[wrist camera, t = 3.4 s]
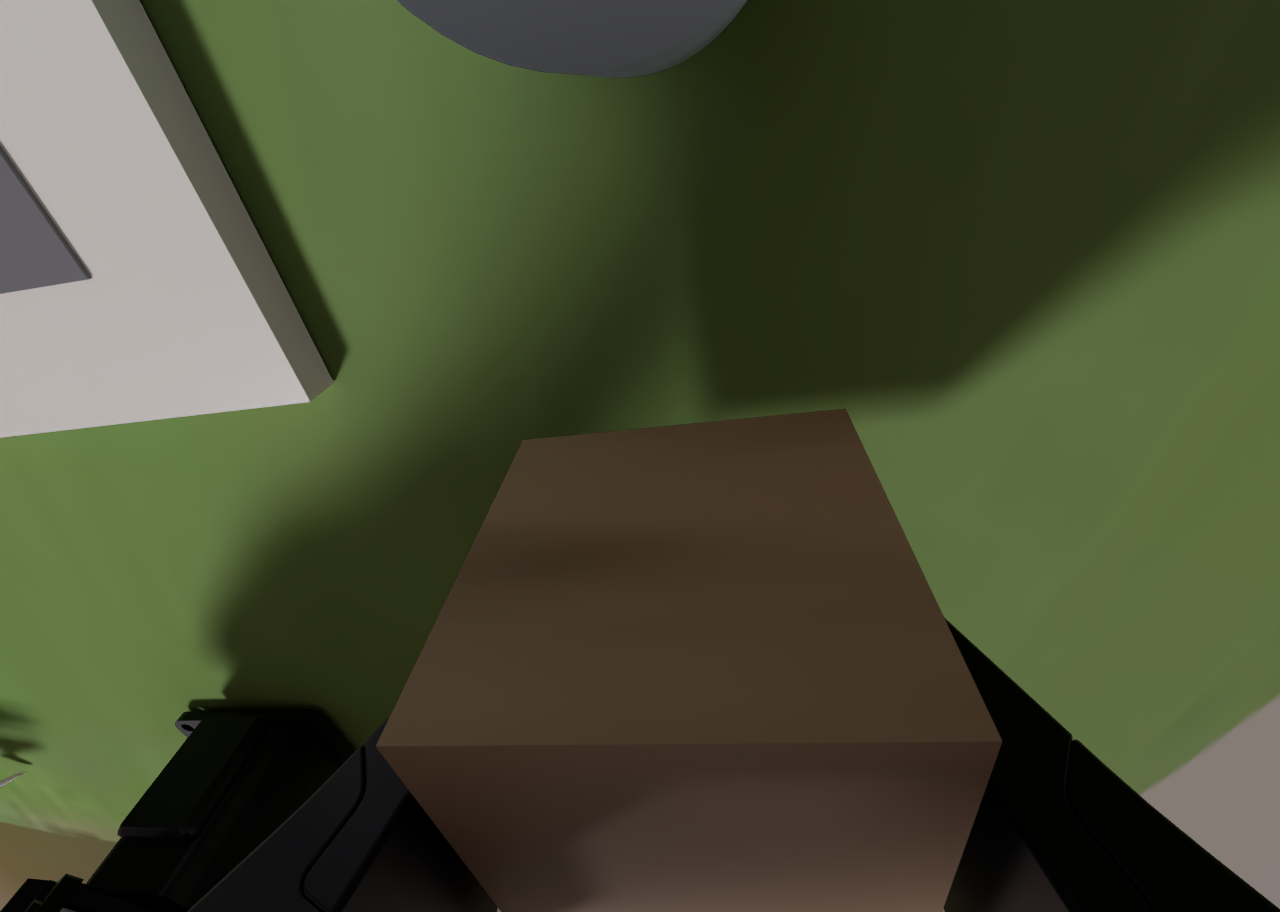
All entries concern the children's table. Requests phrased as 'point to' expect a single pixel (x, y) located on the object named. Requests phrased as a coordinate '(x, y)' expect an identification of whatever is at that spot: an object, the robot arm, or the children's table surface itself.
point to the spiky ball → (10, 778)
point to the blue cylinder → (581, 32)
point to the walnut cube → (696, 683)
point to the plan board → (125, 238)
